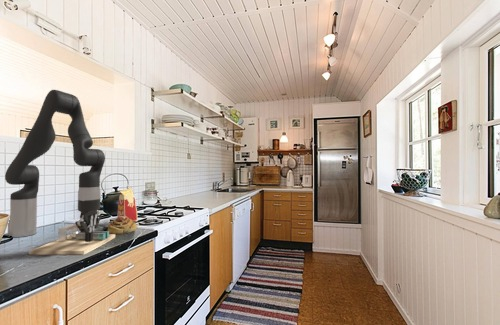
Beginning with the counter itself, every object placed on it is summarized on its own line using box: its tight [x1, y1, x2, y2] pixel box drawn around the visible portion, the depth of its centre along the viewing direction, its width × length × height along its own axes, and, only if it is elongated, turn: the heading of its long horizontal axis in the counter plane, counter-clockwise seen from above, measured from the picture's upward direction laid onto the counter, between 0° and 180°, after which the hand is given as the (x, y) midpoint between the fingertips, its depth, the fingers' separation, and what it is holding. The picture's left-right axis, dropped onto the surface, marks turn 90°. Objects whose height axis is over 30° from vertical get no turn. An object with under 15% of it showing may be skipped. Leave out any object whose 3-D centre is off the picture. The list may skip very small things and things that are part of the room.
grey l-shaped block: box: [57, 223, 79, 241], centre depth 103 cm, size 3×7×5 cm, turn 1°
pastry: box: [106, 216, 138, 236], centre depth 122 cm, size 13×15×8 cm
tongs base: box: [72, 230, 109, 240], centre depth 103 cm, size 15×3×3 cm, turn 91°
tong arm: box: [76, 232, 106, 240], centre depth 102 cm, size 12×2×2 cm, turn 88°
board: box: [28, 234, 116, 256], centre depth 99 cm, size 20×21×2 cm
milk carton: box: [116, 186, 138, 222], centre depth 141 cm, size 9×9×20 cm
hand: (88, 241), depth 97 cm, fingers closed
